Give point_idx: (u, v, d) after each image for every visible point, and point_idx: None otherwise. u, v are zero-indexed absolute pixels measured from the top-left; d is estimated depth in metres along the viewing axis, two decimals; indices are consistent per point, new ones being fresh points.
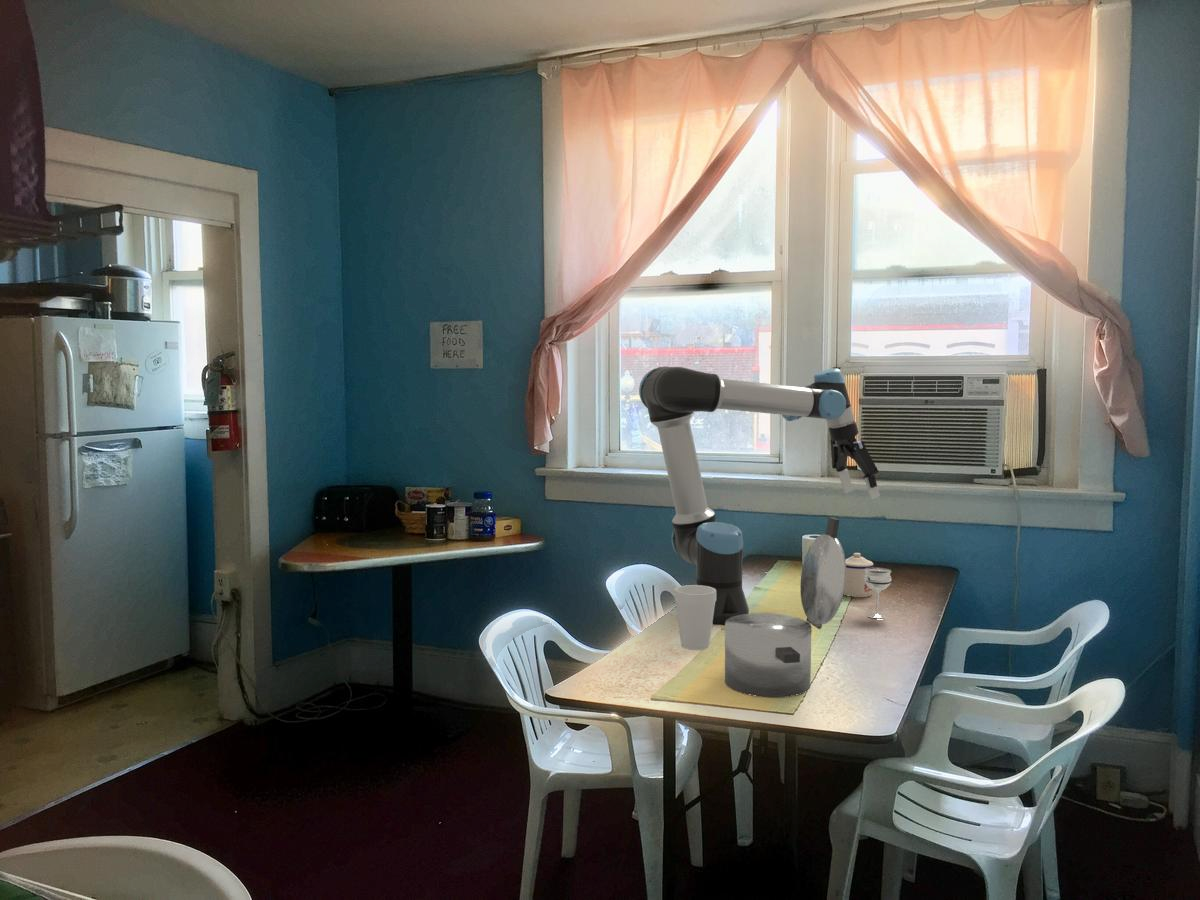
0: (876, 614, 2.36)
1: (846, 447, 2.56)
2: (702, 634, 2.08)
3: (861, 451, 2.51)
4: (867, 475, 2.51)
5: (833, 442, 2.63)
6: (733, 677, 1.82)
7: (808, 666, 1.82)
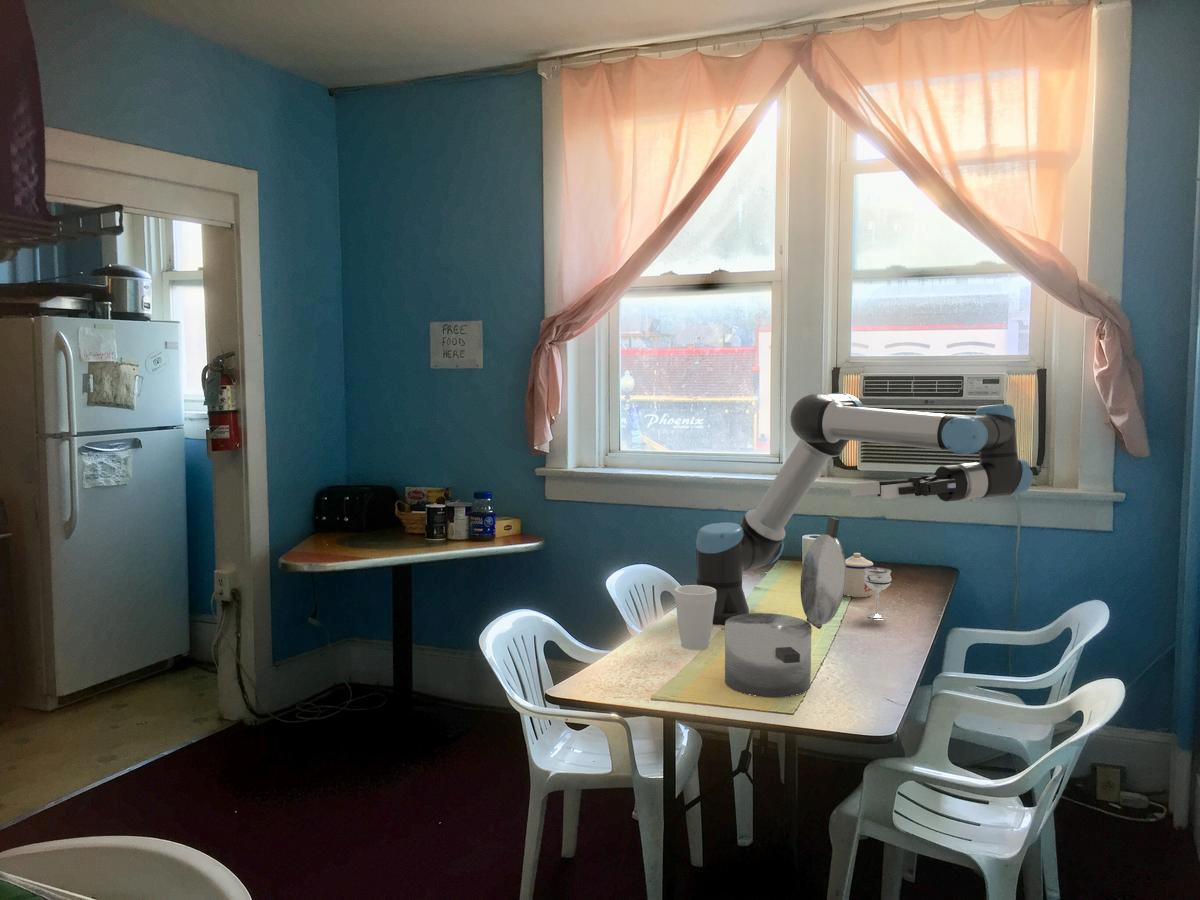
0: (876, 614, 2.36)
1: (936, 477, 1.92)
2: (702, 634, 2.08)
3: (945, 484, 1.87)
4: (918, 483, 1.84)
5: None
6: (733, 677, 1.82)
7: (808, 666, 1.82)
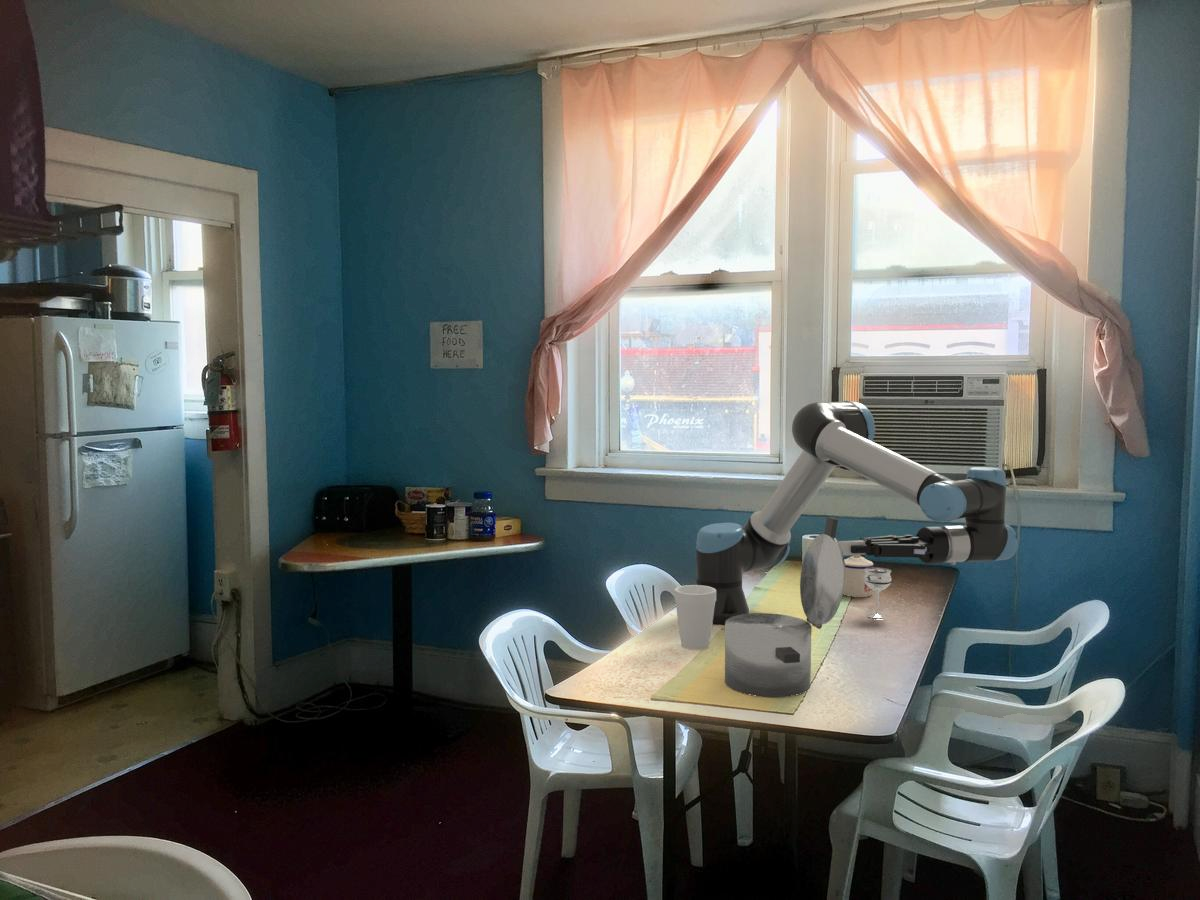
0: (876, 614, 2.36)
1: (915, 539, 1.87)
2: (702, 634, 2.08)
3: (910, 548, 1.83)
4: (869, 542, 1.85)
5: None
6: (733, 677, 1.82)
7: (808, 666, 1.82)
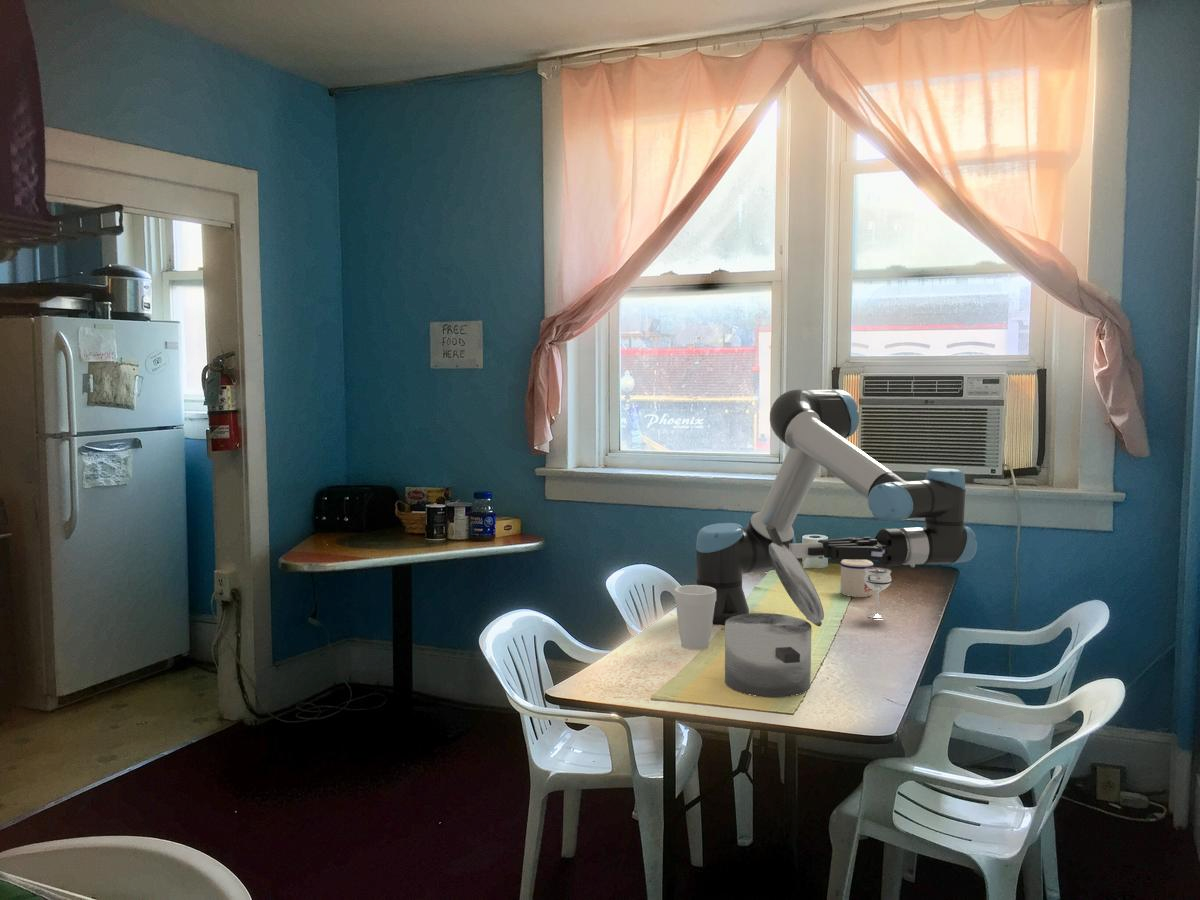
0: (876, 614, 2.36)
1: (873, 541, 1.85)
2: (702, 634, 2.08)
3: (867, 551, 1.82)
4: (826, 545, 1.84)
5: None
6: (733, 677, 1.82)
7: (808, 666, 1.82)
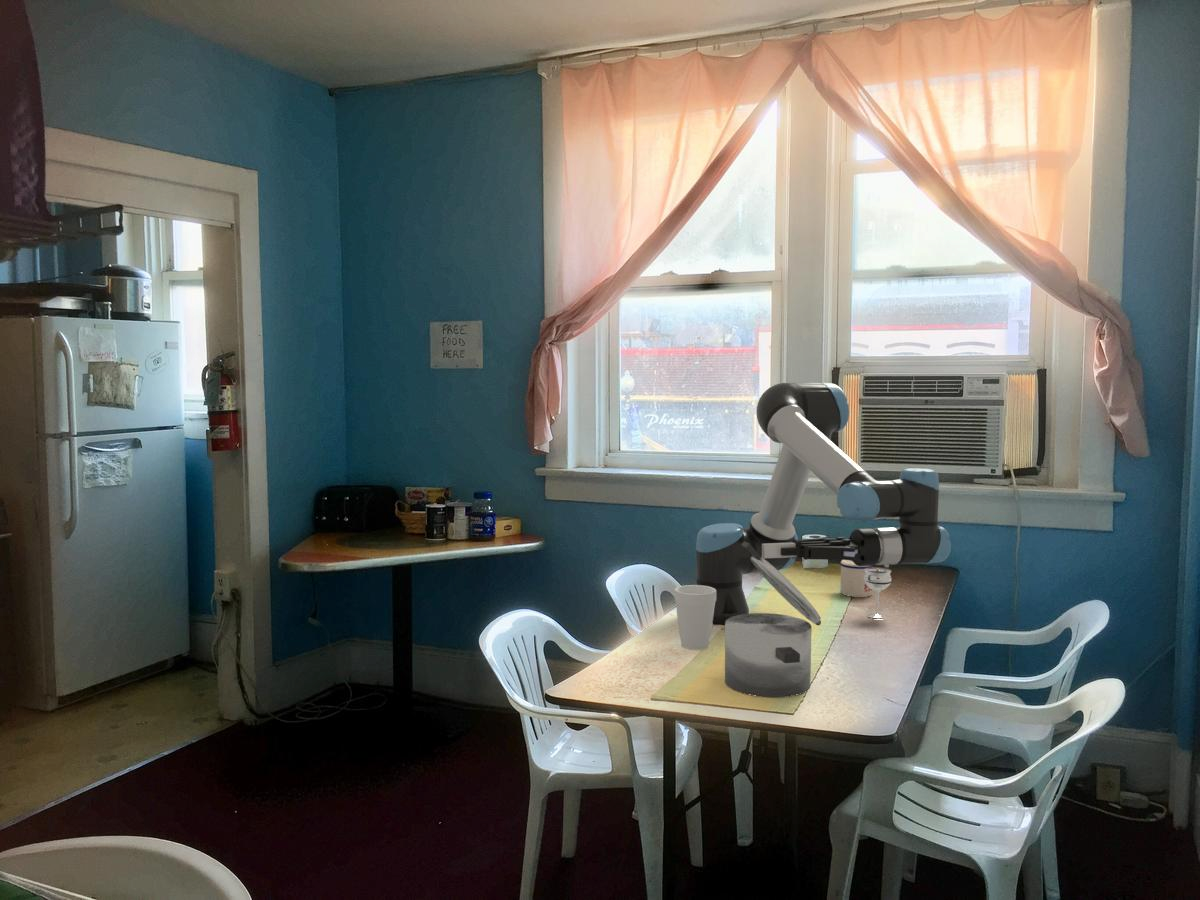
0: (876, 614, 2.36)
1: (846, 541, 1.85)
2: (702, 634, 2.08)
3: (839, 551, 1.81)
4: (799, 545, 1.83)
5: None
6: (733, 677, 1.82)
7: (808, 666, 1.82)
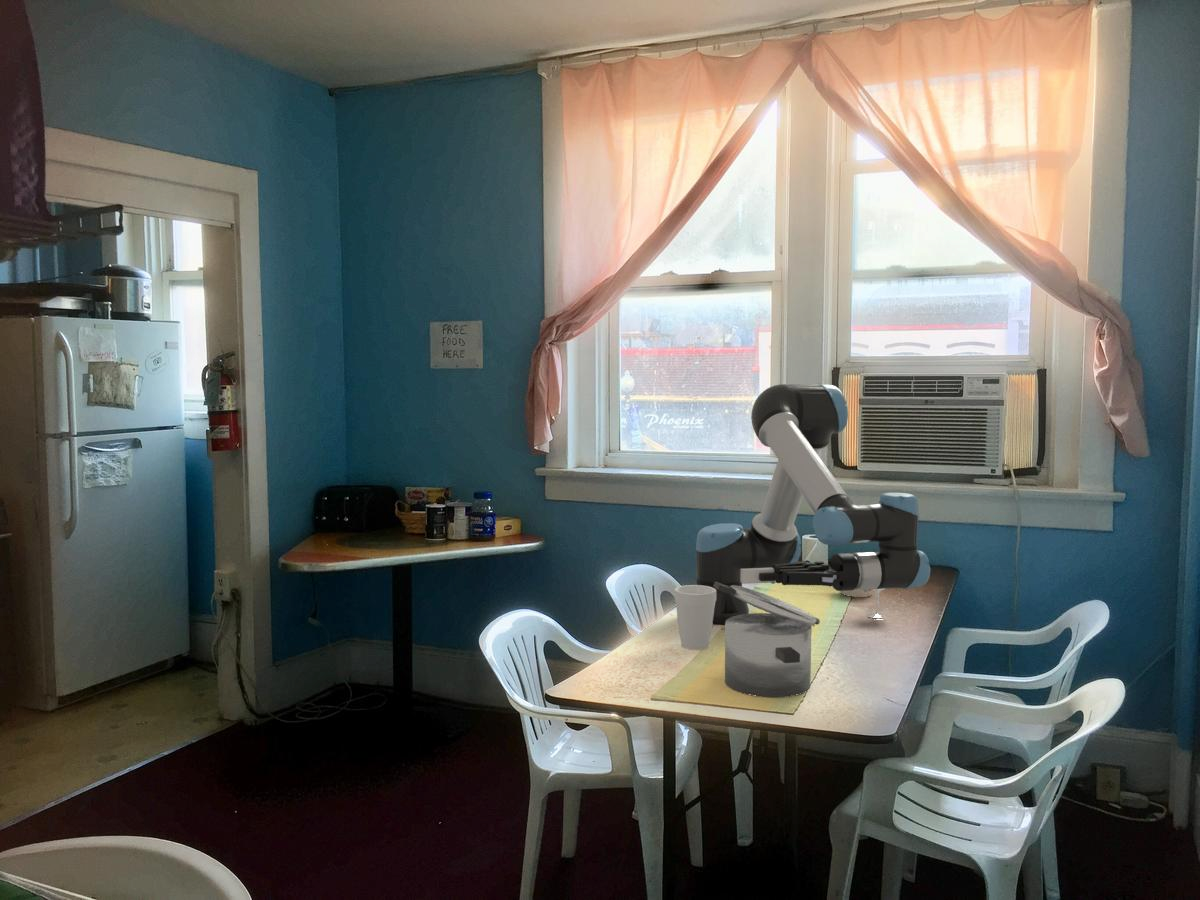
0: (876, 614, 2.36)
1: (825, 567, 1.85)
2: (702, 634, 2.08)
3: (818, 576, 1.81)
4: (777, 570, 1.83)
5: (808, 563, 1.92)
6: (733, 677, 1.82)
7: (808, 666, 1.82)
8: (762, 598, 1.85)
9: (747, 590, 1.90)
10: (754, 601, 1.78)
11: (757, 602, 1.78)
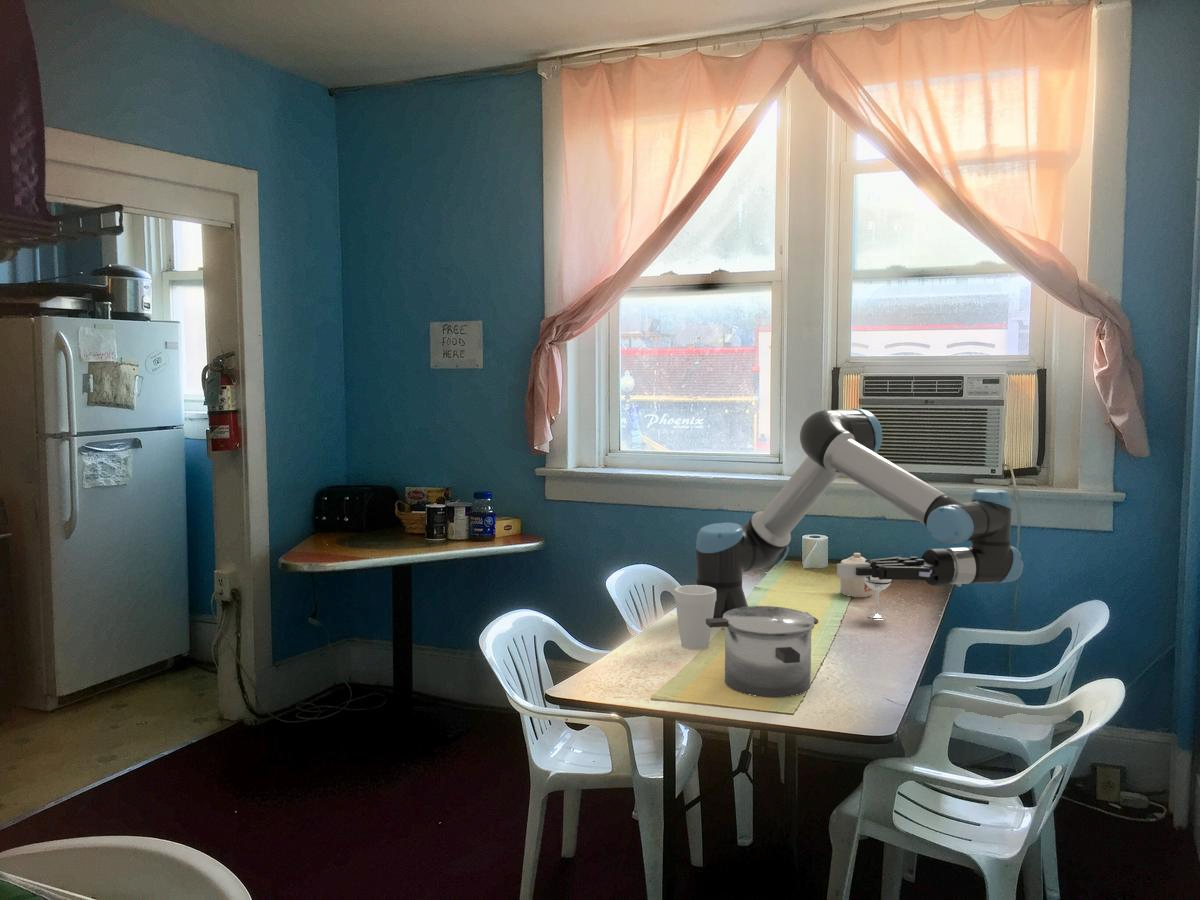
0: (876, 614, 2.36)
1: (920, 561, 1.88)
2: (702, 634, 2.08)
3: (915, 571, 1.84)
4: (874, 565, 1.86)
5: (901, 558, 1.95)
6: (733, 677, 1.82)
7: (808, 666, 1.82)
8: (756, 617, 1.85)
9: (741, 612, 1.90)
10: (747, 629, 1.78)
11: (750, 629, 1.78)
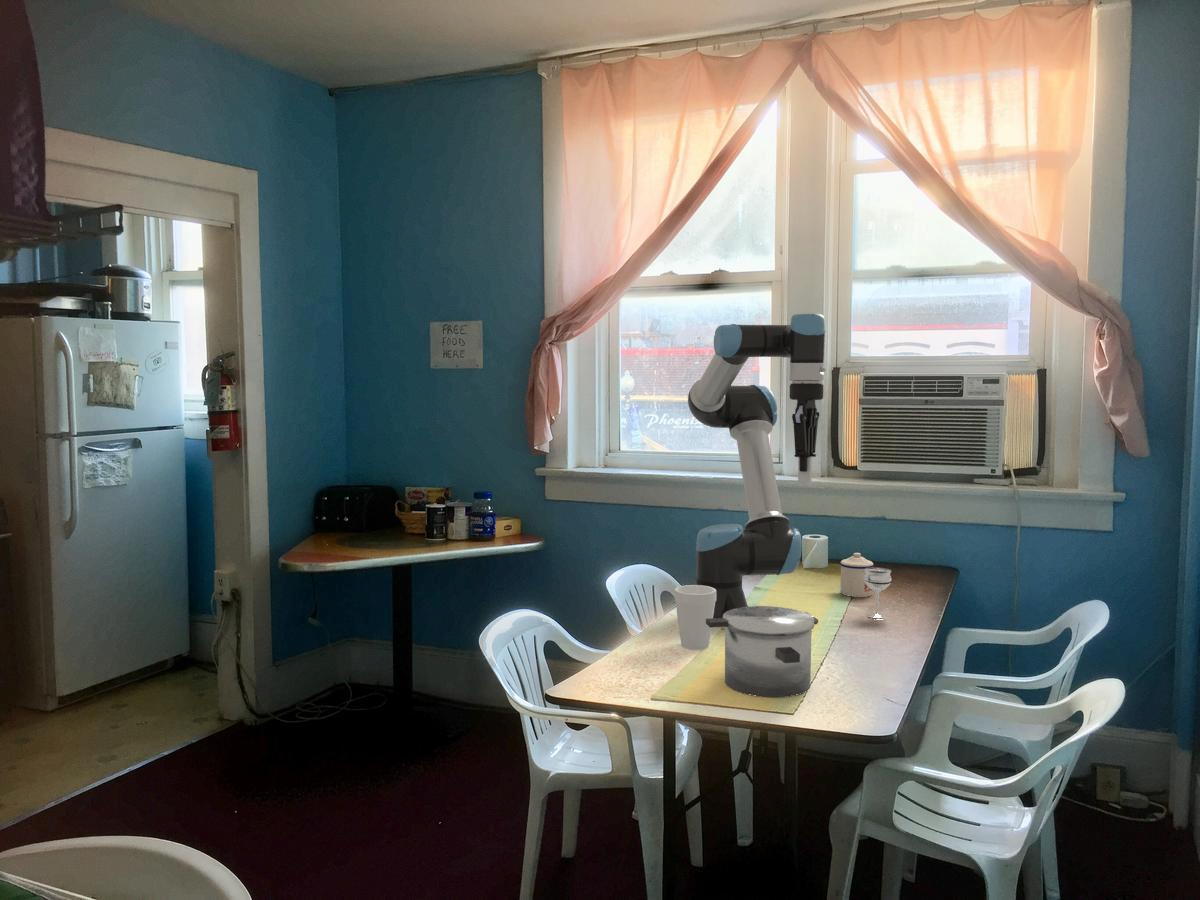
0: (876, 614, 2.36)
1: (796, 412, 2.10)
2: (702, 634, 2.08)
3: (796, 426, 2.07)
4: (797, 456, 2.11)
5: None
6: (733, 677, 1.82)
7: (808, 666, 1.82)
8: (756, 617, 1.85)
9: (741, 612, 1.90)
10: (747, 629, 1.78)
11: (750, 629, 1.78)
